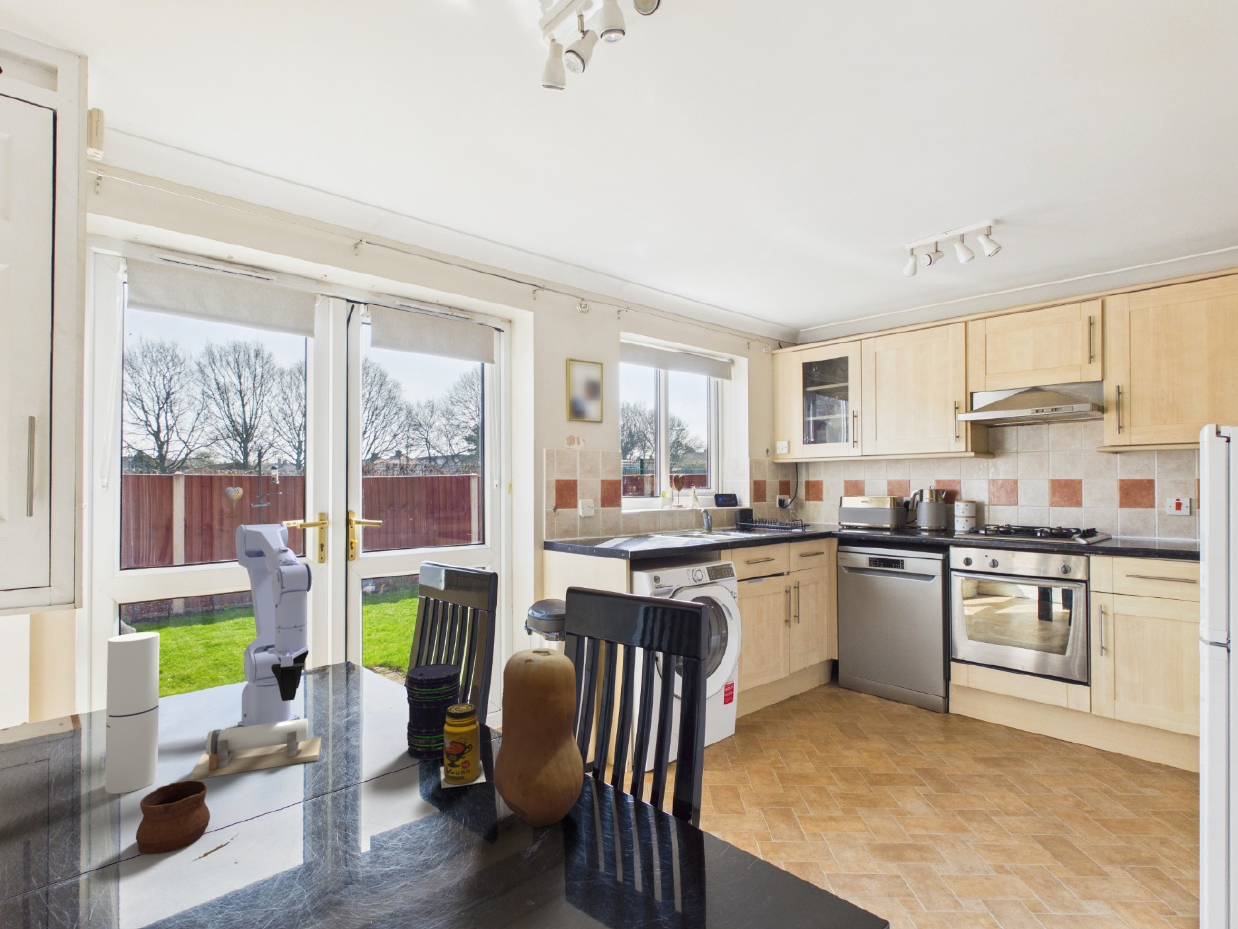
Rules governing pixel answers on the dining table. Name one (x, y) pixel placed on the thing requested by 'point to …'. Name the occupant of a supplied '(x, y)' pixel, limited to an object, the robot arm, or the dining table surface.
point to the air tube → (256, 735)
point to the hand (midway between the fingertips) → (290, 694)
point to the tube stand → (256, 757)
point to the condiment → (461, 747)
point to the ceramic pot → (173, 817)
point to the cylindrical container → (132, 712)
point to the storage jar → (430, 708)
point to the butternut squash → (539, 737)
